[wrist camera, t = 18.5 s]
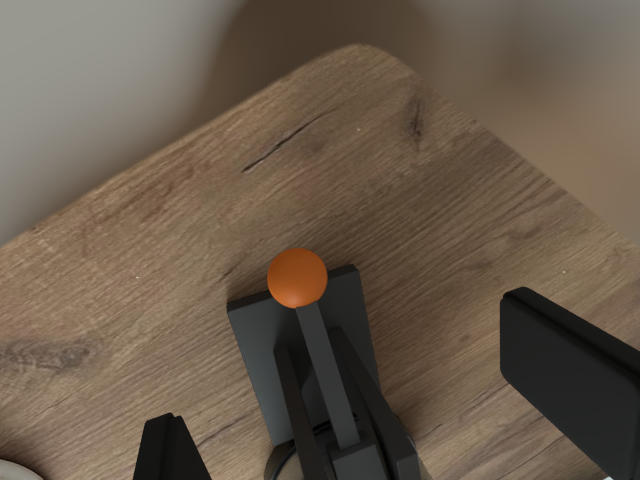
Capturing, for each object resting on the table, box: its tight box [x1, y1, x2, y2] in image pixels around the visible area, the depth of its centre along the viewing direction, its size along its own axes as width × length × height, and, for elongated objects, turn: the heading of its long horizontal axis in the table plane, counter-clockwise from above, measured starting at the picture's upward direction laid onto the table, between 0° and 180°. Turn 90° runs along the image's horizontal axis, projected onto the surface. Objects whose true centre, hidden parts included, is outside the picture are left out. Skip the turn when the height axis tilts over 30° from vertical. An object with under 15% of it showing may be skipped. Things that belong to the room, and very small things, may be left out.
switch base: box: [227, 264, 421, 480], centre depth 22 cm, size 12×9×12 cm
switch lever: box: [267, 248, 387, 480], centre depth 19 cm, size 13×3×3 cm
